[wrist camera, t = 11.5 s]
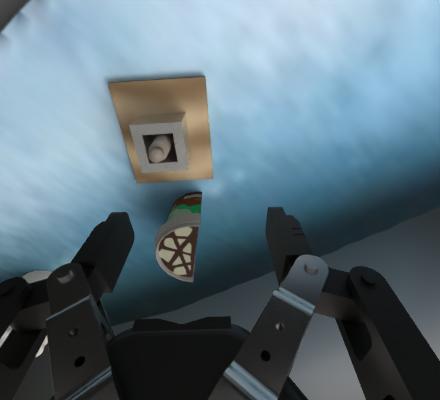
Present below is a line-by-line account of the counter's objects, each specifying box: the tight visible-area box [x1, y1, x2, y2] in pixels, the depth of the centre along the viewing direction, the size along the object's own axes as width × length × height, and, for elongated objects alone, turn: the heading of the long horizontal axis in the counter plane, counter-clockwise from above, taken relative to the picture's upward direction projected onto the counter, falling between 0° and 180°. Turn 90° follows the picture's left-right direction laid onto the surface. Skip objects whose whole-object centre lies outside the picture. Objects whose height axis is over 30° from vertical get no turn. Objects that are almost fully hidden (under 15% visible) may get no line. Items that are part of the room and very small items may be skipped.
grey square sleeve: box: [129, 113, 192, 173], centre depth 29 cm, size 6×6×5 cm
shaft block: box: [108, 77, 213, 183], centre depth 28 cm, size 14×12×8 cm
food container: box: [155, 192, 202, 282], centre depth 35 cm, size 12×6×10 cm, turn 172°
